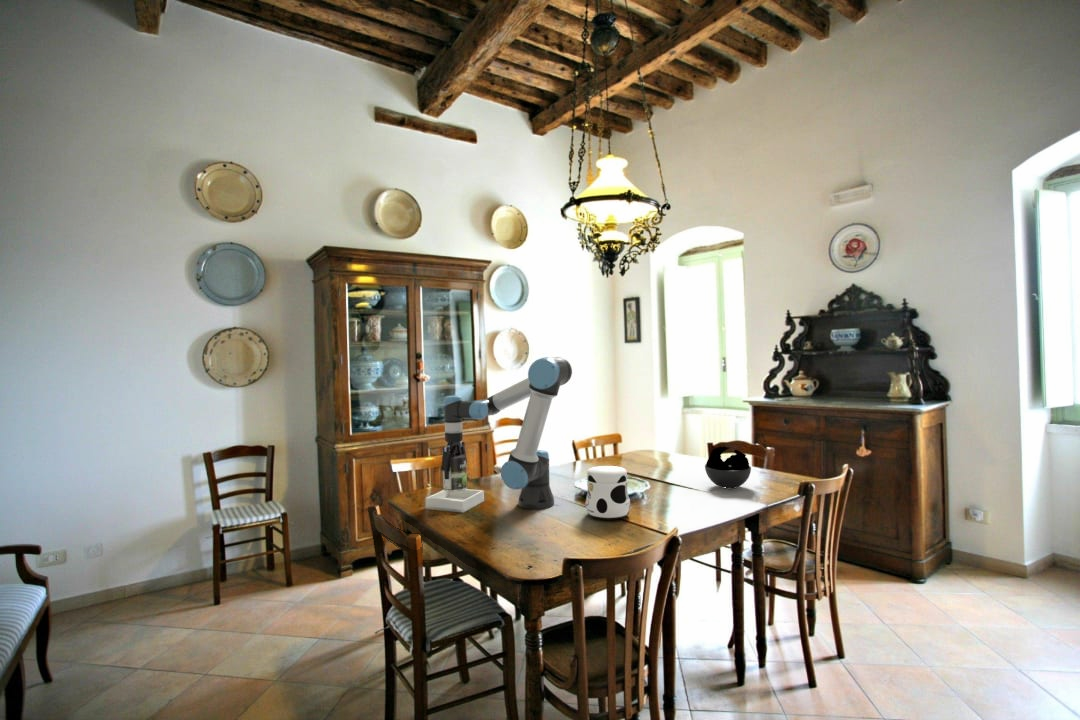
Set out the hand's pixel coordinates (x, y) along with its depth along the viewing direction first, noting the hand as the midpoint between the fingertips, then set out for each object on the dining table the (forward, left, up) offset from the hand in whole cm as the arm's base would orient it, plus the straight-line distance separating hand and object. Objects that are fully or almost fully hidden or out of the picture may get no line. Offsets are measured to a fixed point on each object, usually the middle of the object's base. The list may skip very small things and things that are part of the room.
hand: (454, 483), depth 231 cm
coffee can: (0, 0, -3) cm, 3 cm away
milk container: (-66, -5, -9) cm, 67 cm away
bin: (0, 0, -9) cm, 9 cm away
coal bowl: (-107, -62, -9) cm, 124 cm away
